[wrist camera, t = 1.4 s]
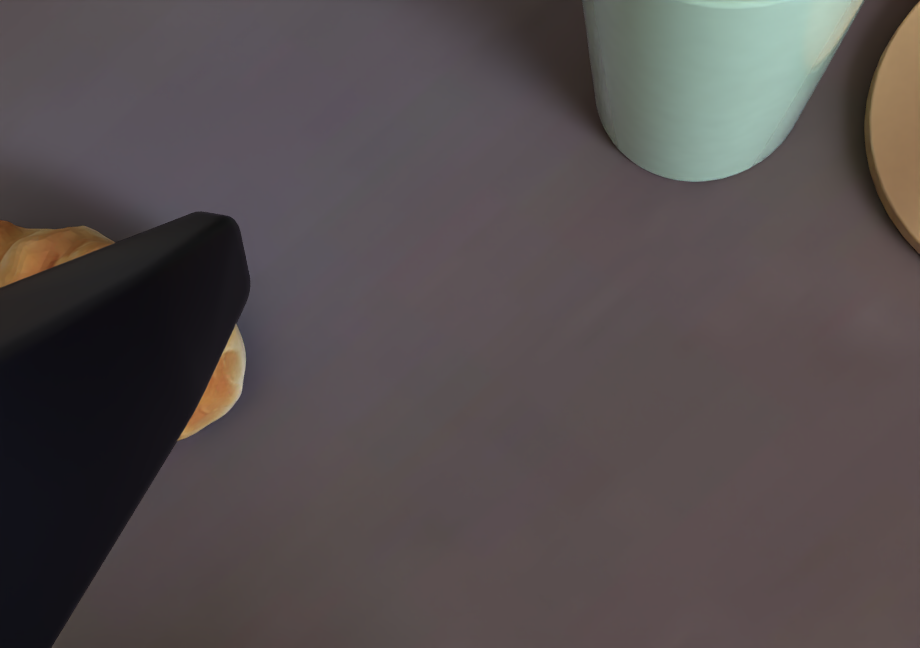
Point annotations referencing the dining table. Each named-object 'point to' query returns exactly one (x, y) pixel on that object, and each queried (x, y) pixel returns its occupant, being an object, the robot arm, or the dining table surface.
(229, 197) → the dining table surface
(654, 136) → the pepper mill
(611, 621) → the dining table surface
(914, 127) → the cork trivet
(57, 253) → the pastry
